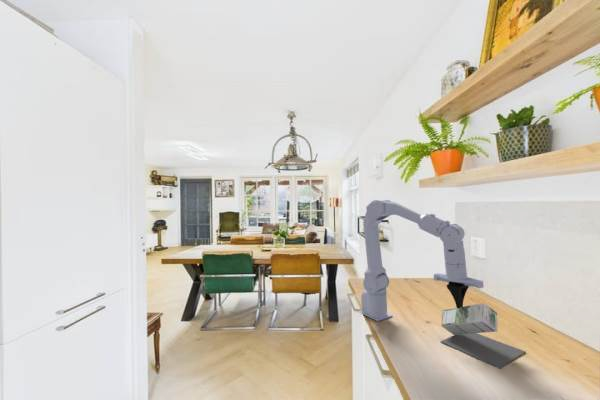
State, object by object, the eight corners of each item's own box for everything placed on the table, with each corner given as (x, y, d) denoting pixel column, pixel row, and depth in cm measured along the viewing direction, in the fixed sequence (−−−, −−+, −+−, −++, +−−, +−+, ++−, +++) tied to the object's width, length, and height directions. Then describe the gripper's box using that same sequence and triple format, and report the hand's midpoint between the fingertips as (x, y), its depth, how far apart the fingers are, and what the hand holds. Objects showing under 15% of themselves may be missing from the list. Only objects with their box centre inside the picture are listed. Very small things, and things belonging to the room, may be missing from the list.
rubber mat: (440, 342, 83) (440, 341, 83) (466, 330, 90) (466, 329, 90) (499, 368, 69) (499, 367, 69) (525, 352, 76) (525, 351, 76)
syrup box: (454, 335, 87) (499, 332, 76) (440, 325, 87) (483, 320, 75) (455, 319, 91) (498, 313, 79) (441, 309, 90) (483, 302, 79)
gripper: (486, 264, 82) (491, 310, 81) (441, 259, 94) (445, 299, 94) (473, 267, 78) (478, 316, 78) (428, 262, 91) (432, 303, 90)
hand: (459, 307), depth 85 cm, fingers closed, pressing on syrup box
